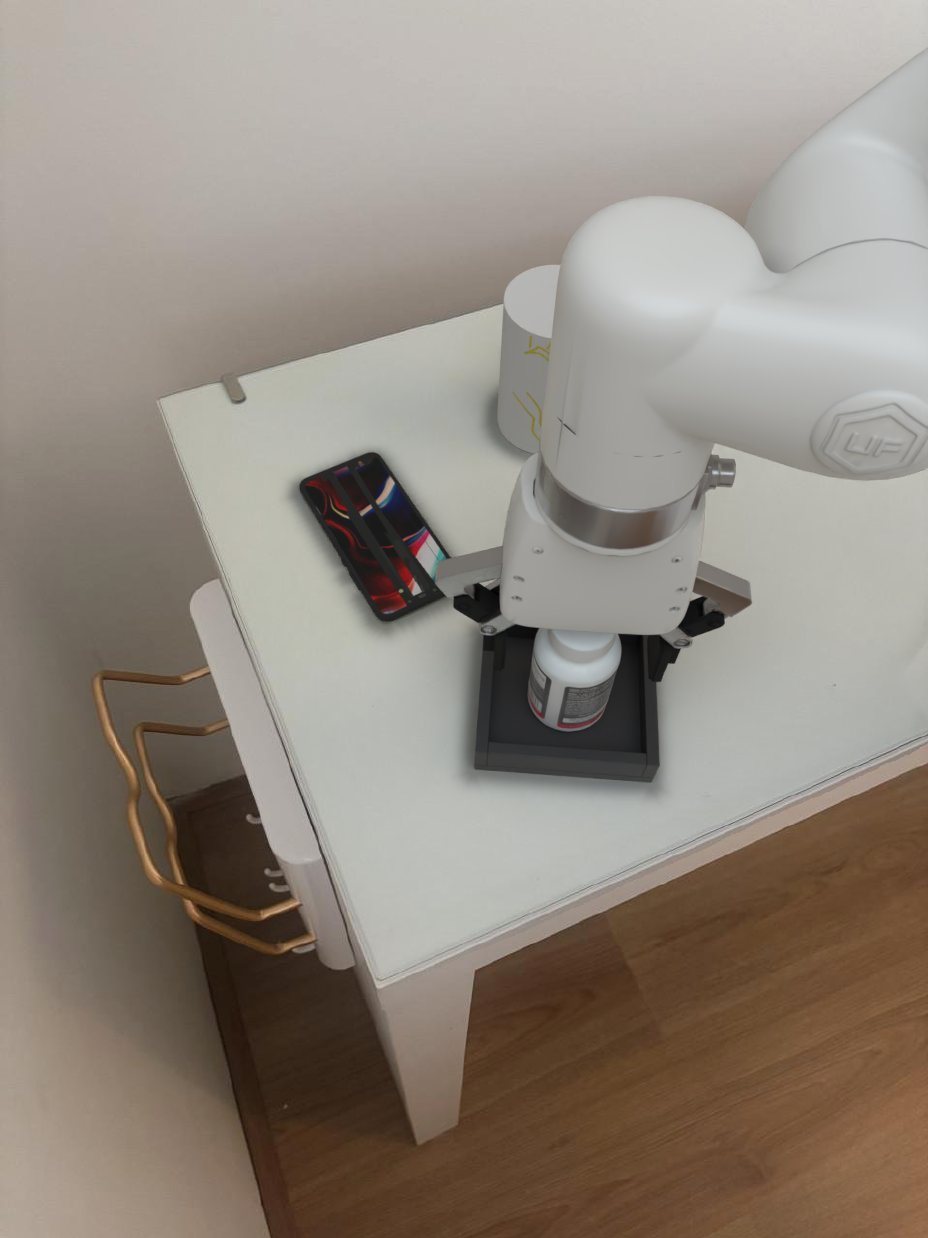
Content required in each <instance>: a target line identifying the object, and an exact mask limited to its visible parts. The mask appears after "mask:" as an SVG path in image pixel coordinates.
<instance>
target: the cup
mask: <svg viewBox="0 0 928 1238" xmlns="http://www.w3.org/2000/svg"><path fill="white" fill-rule="evenodd" d="M560 265H561V264H545V265H539V266H536V267H532V268H529V269H527V270H525V271H523V272H521V273H519V274H517V275H516V276H514V278H513V279H512V280H511V281H510V282H509V283H508V285H507V286H506V288H505V291H504V293H503V305H502V307H503V308H502V322H501V323H502V325H501V340H500V342H501V343H500V346H501V347H500V359H499V376H498V377H499V378H498V393H497V394H498V395H497V398H498V399H497V411H496V412H497V414H496V421H497V422H496V423H497V426H498V428H499V431H500V432H501V434H502V435H503V437H504V438H505V440H507V441H508V443H510V444H511V445H513V446H514V447H516V448H518V449H519V450H522V451H523V452H526V453H530V454H532V455H533V454H535V453H538V451H539V442H540V433H541V425H542V415H543V407H544V399H545V391H546V382H547V373H548V364H549V355H550V346H551V336H552V327H553V318H554V309H555V299H556V290H557V282H558V276H559V270H560Z"/></svg>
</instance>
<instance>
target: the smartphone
mask: <svg viewBox="0 0 928 1238" xmlns="http://www.w3.org/2000/svg"><path fill="white" fill-rule="evenodd" d="M298 488H299V492H300V494H301V496H302V497H303V499H304V500H305V502H306V504H307V505H308V507H309V509H310V510H311V512H312V514H313V515H314V517H315V519H316V521H317V522H318V523H319V525H320V527H321V528H322V530H323V531H324V533H325V535H326V537H327V539H328V540H329V541H330V543H331V545H332V546H333V549H334V550H335V551H336V553H337V555H338V556H339V558H340V562H341V563H342V565H343V566H344V568H346V570H347V571H348V575H349V577H350V578H351V580H352V581H353V584H354V585H355V587H356V588H357V590H358V591H360V592H361V595H362V596H363V597H364V599H365V600H366V602H367V604H368V606H369V607H370V609H371V610H372V612H373V613H374V615H375V617H376V618H377V619H378V620H379V621H381V622H383V623H390V622H393V621H395V620H398V619H399V618H402V617H404V616H406V615H408V614H411V613H412V612H415V611H417V610H419V609H421V608H423V607H425V606H428V605H430V604H432V603H434V602H436V601H439V600H440V599H442V598H445V597H447V596H446V595H445V594H444V593H443V592H442V591H441V590H440V589H439V588H438V587H437V585H436V584H435V577H436V568H437V563H438V562H439V561H441V560H446V559H450V558H452V557H451V555H450V554H449V553H448V551H447V550H446V548H445V547H444V546H443V544H442V543H441V541H440V540H439V538H438V537H437V536H436V534H435V532H434V531H433V530H432V529H431V527H430V525H429V523H428V522H427V521H426V520H425V518H424V517H423V515H422V514H421V512H420V511H419V509H418V508H417V507H416V505H415V504H414V502H413V501H412V499H411V497H410V496H409V494H408V493H407V491H406V490H405V489H404V487H403V486H402V484H401V483H400V482H399V480H398V479H397V478H396V476H395V474H394V473H393V471H392V470H391V468H390V467H389V466H388V464H387V463H386V461H385V460H384V458H383V457H382V456H381V454H379V453H377V452H374V451H370V452H366V453H363V454H360V455H358V456H356V457H353V458H350V459H349V460H346V461H344V462H341V463H339V464H336V465H333V466H332V467H329V468H327V469H324V470H322V471H319V472H316V473H315V474H312V475H309V476H307V477H305V478H303V479H302V480H301V481H300V483H299V487H298Z"/></svg>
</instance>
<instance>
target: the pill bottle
mask: <svg viewBox="0 0 928 1238" xmlns="http://www.w3.org/2000/svg"><path fill="white" fill-rule="evenodd" d="M620 659H621V642H620V638H619V636H618V634H617V633H602V632H586V631H572V630H559V629H547V628H539V630H538V632H537V634H536V637H535V641H534V648H533V655H532V663H531V669H530V677H529V683H528V701H529V705H530V707H531V709H532V711H533V713H534V714H535V716H536V717H537V718H538V719H539V720H540V721H541V722H542V723H544V724H545V725H547V726H549V727H551V728H553V729H556V730H560V731H565V732H571V731H579V730H583V729H585V728H588V727H590V726H591V725H593V724H594V723H595V722H597V721H598V720H599V718H600V717H601V716H602V714H603V712H604V710H605V707H606V704H607V702H608V699H609V695H610V692H611V689H612V686H613V682H614V679H615V675H616V672H617V669H618V666H619V663H620Z"/></svg>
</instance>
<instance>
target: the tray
mask: <svg viewBox="0 0 928 1238" xmlns="http://www.w3.org/2000/svg"><path fill="white" fill-rule="evenodd" d="M538 630H539V628H536V627H527V626H522V625H518V624H515V625H513V626H511V627H509V628H508V633H507V646H506V657H505V668H504V669H501V671H493V660H494V651H483V650H482V652H481V666H480V680H479V694H478V705H477V721H476V733H475V747H474V764H473V769H474V770H480V771H494V772H505V773H506V772H507V773H520V774H533V775H545V776H546V775H547V776H558V777H559V776H560V777H572V778H573V777H574V778H586V779H600V780H615V781H627V782H639V783H640V782H641V783H653V780H654V778H655V776H656V774H657V772H658V770H659V769H660V765H661V763H660V741H659V740H660V738H659V716H658V715H659V714H658V689H657V682H652V680H651V679H649V678H648V652H647V639H648V635H636V634H618V636H619V638H620V642H621V659H620V663H619V666H618V669H617V672H616V675H615V679H614V682H613V686H612V689H611V692H610V695H609V699H608V702H607V704H606V707H605V710H604V712H603V714H602V716H601V717H600V718H599V720H598V721H597V722H595V723H594V724H593V725H591V726H590V727H588V728H585V729H583V730H579V731H571V732H565V731H560V730H556V729H553V728H551V727H549V726H547V725H545V724H544V723H542V722H541V721H540V720H539V719H538V718H537V717H536V716H535V714H534V713H533V711H532V709H531V707H530V705H529V701H528V683H529V677H530V669H531V663H532V655H533V648H534V641H535V637H536V634H537V632H538Z"/></svg>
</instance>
